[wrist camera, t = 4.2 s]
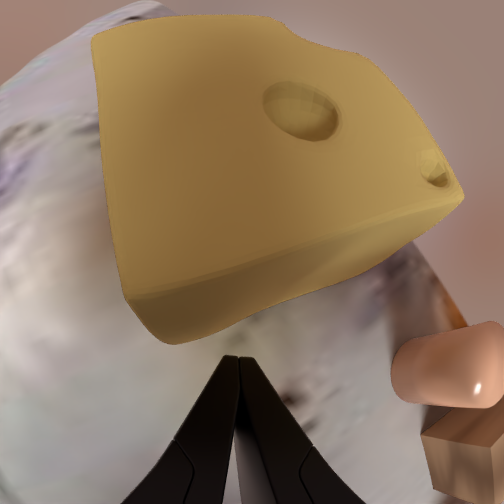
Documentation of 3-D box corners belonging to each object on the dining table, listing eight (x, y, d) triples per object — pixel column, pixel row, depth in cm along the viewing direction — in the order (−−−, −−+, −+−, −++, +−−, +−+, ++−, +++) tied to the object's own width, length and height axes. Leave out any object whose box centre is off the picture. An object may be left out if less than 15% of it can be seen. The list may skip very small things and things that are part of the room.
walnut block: (480, 446, 14) (540, 452, 8) (433, 488, 13) (494, 509, 7) (469, 393, 15) (536, 390, 10) (419, 434, 14) (490, 447, 8)
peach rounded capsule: (442, 392, 15) (514, 391, 9) (393, 411, 14) (466, 421, 9) (436, 332, 16) (507, 314, 11) (387, 344, 16) (460, 330, 10)
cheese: (285, 137, 20) (331, 8, 10) (355, 289, 17) (486, 210, 7) (126, 172, 17) (85, 31, 8) (170, 353, 14) (103, 340, 5)
